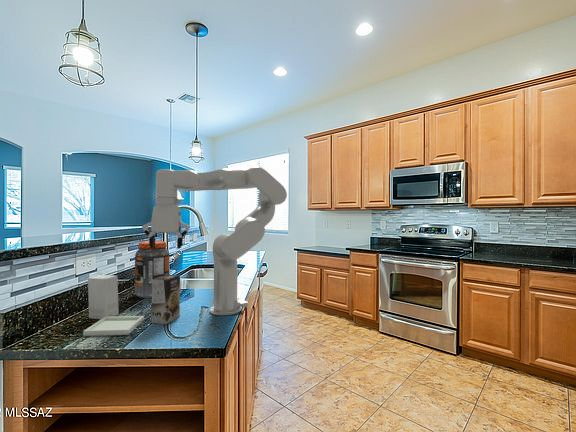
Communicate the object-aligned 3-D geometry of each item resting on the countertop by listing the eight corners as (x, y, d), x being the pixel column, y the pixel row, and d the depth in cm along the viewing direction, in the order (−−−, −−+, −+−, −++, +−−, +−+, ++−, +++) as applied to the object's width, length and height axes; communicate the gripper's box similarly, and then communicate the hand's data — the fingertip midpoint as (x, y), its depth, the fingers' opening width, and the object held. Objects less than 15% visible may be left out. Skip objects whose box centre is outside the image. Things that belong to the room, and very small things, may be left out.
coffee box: (166, 324, 111) (167, 279, 111) (150, 323, 112) (151, 278, 112) (180, 316, 120) (180, 274, 120) (165, 315, 121) (165, 274, 121)
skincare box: (119, 315, 121) (119, 275, 121) (104, 320, 114) (105, 278, 114) (101, 313, 123) (102, 274, 123) (87, 318, 117) (87, 277, 117)
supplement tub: (134, 292, 156) (134, 241, 155) (167, 289, 163) (167, 240, 163) (135, 300, 142) (135, 244, 141) (171, 296, 149) (171, 242, 149)
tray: (144, 320, 115) (144, 315, 115) (128, 334, 101) (128, 329, 101) (104, 321, 114) (105, 316, 114) (83, 335, 100) (83, 330, 100)
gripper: (192, 203, 120) (191, 247, 120) (146, 202, 119) (145, 247, 119) (187, 202, 113) (187, 249, 113) (138, 201, 111) (138, 249, 111)
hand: (166, 248), depth 116 cm, fingers open, 9 cm apart
